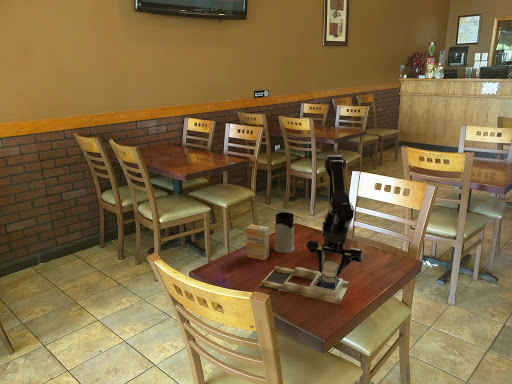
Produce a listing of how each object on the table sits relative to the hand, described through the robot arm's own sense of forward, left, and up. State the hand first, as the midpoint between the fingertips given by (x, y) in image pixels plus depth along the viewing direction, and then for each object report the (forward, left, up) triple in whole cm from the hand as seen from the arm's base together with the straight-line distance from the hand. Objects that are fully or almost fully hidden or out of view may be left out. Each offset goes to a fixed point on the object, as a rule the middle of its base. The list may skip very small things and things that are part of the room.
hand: (328, 274), depth 133 cm
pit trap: (-18, -8, -7) cm, 21 cm away
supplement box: (-36, -3, -7) cm, 37 cm away
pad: (0, +2, -7) cm, 7 cm away
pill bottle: (-1, +1, -7) cm, 7 cm away
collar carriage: (-2, +1, -7) cm, 7 cm away
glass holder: (-37, +13, -7) cm, 40 cm away
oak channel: (-8, -3, -7) cm, 11 cm away
